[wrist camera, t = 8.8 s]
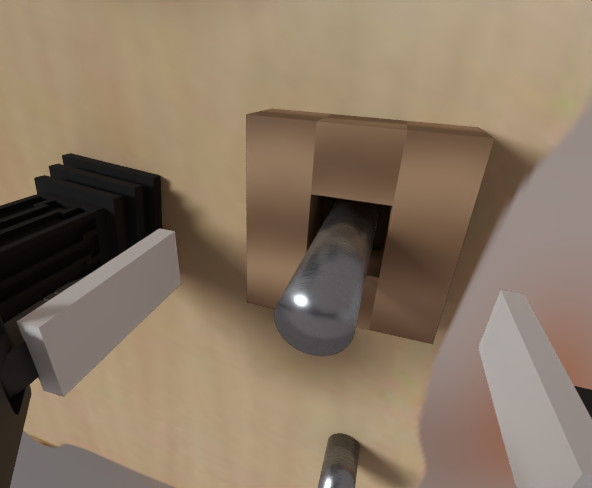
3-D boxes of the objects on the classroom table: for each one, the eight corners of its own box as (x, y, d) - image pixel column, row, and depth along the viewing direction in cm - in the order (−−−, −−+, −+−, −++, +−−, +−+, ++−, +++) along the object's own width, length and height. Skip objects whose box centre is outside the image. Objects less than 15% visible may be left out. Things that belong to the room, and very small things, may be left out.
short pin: (329, 429, 33) (317, 483, 28) (361, 439, 32) (354, 496, 28) (326, 450, 34) (314, 505, 30) (357, 459, 33) (350, 517, 29)
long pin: (336, 187, 23) (276, 279, 12) (382, 194, 22) (361, 298, 12) (330, 229, 24) (272, 344, 14) (374, 237, 24) (347, 364, 13)
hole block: (271, 108, 22) (246, 114, 18) (478, 127, 19) (494, 138, 16) (267, 273, 27) (246, 302, 24) (429, 306, 25) (432, 344, 21)
